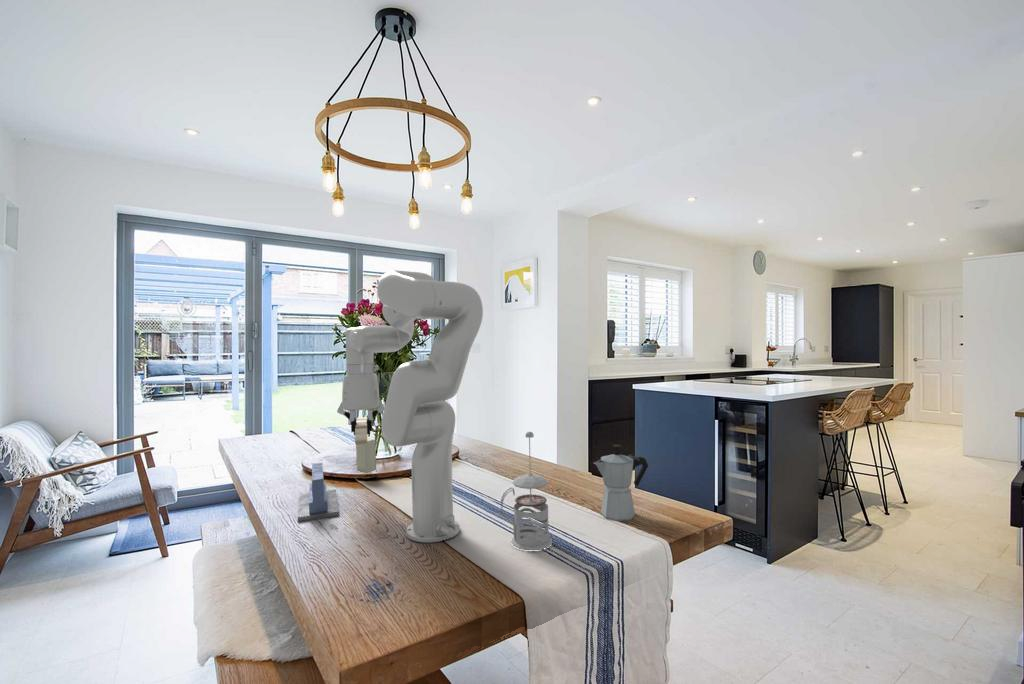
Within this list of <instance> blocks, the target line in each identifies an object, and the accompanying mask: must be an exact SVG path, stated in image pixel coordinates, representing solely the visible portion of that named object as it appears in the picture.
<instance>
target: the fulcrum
mask: <svg viewBox="0 0 1024 684" xmlns="http://www.w3.org/2000/svg"><path fill="white" fill-rule="evenodd" d="M323 467H324V466H323V462H316V463H312V464H311V483H309V492H308V493H301V494H299V496H298V507H297V508H298V509H297V523H300V522H301V521H302V522H306V521H307V522H308V521H313V520H319V519H320V520H321V519H327V518H328V519H329V518H334V517H339V516H340V509H339V502H338V496H337V489H329V490H327V482H326V481H324V468H323Z"/></svg>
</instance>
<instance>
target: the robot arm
mask: <svg viewBox="0 0 1024 684" xmlns="http://www.w3.org/2000/svg"><path fill="white" fill-rule="evenodd" d="M376 291H377V297H378V299H379V301H380V303H381V304H382V308H381V311H382V316H383V319H385V321H386V322H387V323H388V324H389V325H360V326H357V327H356V326H355V327H349V328H347V329H346V331H345V361H346V362H345V363H346V365H345V366H346V369H345V370H346V371H345V372H346V375H343V380H342V391H341V392H342V393H341V395H342V396H341V402H340V405H339V407H338V409H337V411H336V412H337V413H338V414H340V415H342V416H344V417H346V418H347V419H348V420H349V421H350V431H351V433H353V436H355V427H356V421H357V417H356V415H355V413H356V411H365V410H367V435H370V433H371V431H373V419H374V418H376V416H377V415H378V414H379V413H381V412H383V413H382V418H381V434H382V436H383V439H384V441H385V442H386V443H387V444H388V445H390V446H393V447H406V446H410V445H415V444H416V445H415V447H414V450H413V451H412V452H413V453H412V456H411V495H412V496H411V499H412V500H411V503H412V522H411V524H409V525H408V526H407V528H406V530H405V532H406V533H405V534H406V537H407V538H408V539H409V540H411V541H414V542H418V543H431V544H432V543H439V542H443V540H444V541H447V540H450V539H453V538H454V537H455V536H457V535H458V534H459V532H460V531H461V528H460V527H461V526H460V523H459V522H458V521H457V520H455V519H456V518H455V515H454V509H453V508H454V505H453V504H454V503H453V502H454V501H453V500H454V498H453V496H454V495H453V439H454V435H455V434H454V433H455V428H456V414H455V410H454V408H453V406H452V405H451V404H450V403H449V402H448V400H450V399H453V398H454V397H455V396H456V395H457V393H458V391H459V389H460V386H461V382H462V379H463V376H464V373H465V369H466V367H467V366H466V365H467V363H468V359H469V355H470V353H471V349H472V346H473V344H474V342H475V339H476V337H477V335H478V333H479V331H480V329H481V326H482V323H483V316H484V314H483V313H484V312H483V311H484V308H483V303H482V299H481V297H480V294H479V293H478V291H477V290H476V289H475V288H473V287H472V286H471V285H469V284H466V283H461V282H455V281H445V280H443V281H442V280H436V279H435V278H434V277H433V276H432V275H430V274H428V273H424V272H416V271H407V270H406V271H405V270H397V269H394V270H389V271H387V272H386V273H383V275H382V276H381V277H380V279H379V281H378V284H377V289H376ZM416 320H448V321H447V323H446V324H444V326H443V327H442V328H441V329H440V331H439V332H438V333H437V334H436V336H435V338H434V340H433V341H432V345H431V349H430V352H429V355H428V357H427V358H426V359H424V360H413V361H412V360H411V361H407V362H404V363H402V364H400V365H399V366H398V367H397V368H396V369H395V371H394V372H393V373H392V377H391V380H390V384H389V388H388V392H387V395H386V400H385V405H384V404H383V403H382V401H381V399H380V389H379V388H380V387H379V380H378V375H377V374H376V373H375V372H376V371H379V370H380V366H379V365H375V364H374V361H375V360H374V354H377V353H379V354H380V353H394V352H397V351H400V350H402V348H404V347H405V346H406V345H408V344H409V342H411V340H412V338H413V336H414V333H415V322H414V321H416ZM456 534H457V535H456ZM449 538H450V539H449ZM446 539H447V540H446Z"/></svg>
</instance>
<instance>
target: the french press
mask: <svg viewBox="0 0 1024 684" xmlns="http://www.w3.org/2000/svg"><path fill="white" fill-rule="evenodd" d="M525 438H528V443H529V445H528V449H529V452H528V453H529V459H531V438H534V433H533V432H532V431H527V432H525ZM531 466H532V465H531V463H529V473H526V474H522V475H519V476H517V477H516V478H514V479H513V480H512V485H514V486H515V487H516V488H519V489H526V490H527V489H528V490H529V493H528V494H522V495H521V494H520V495H518V496H517V497H515V498H514V502H515V504H514V505H513V518H514V519H513V518H511V517H510V516H508V515H507V514H506V513H505V511H504V506H503V503H504V499H505V498H506V497H507V496H508V494H509V493H511V492H512V495H513V496H515V489H514V487H509V488H508V489H506V490H505V491H504V492H503V495H502V496H501V500H500V508H501V512H502V513H501V514H502V515H503V517H504V518H505V519H506V520H507V521H509V522H510V523H512V525H513V537H512V538H511V539H512V541H511V540H510V542H511V543H512V544H513V546H515V547H517V548H519V549H523V550H540V549H544V548H546V547H549V546H550V545H551V544H552V540H553V539H552V538H551V537H550V535H549V533H550V532H549V505H548V504H547V501H548V499H547V498H546V497H545V496H544V495H540V494H534V493H533V494H532V490H533V489H540V488H541V489H542V488H545V487H546V486H548V484H549V480H548V479H546V478H545V477H544V476H542V475H539V474H535V473H531V470H532V469H531ZM522 507H524V508H522ZM520 508H521V509H520ZM532 508H534V509H535V510H537V511H535V510H533V509H532ZM523 518H524V519H523ZM521 519H522V520H521ZM532 519H533V520H532ZM534 520H535V521H534ZM533 525H534V526H533ZM536 526H537V527H536ZM540 528H541V529H540Z"/></svg>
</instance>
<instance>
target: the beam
mask: <svg viewBox="0 0 1024 684" xmlns="http://www.w3.org/2000/svg"><path fill="white" fill-rule="evenodd" d="M367 417H368V416H367ZM367 417H366V416H364V417H356V427H355V435H354V442H355V446H356V445H359V444H367V439H368V434H367Z"/></svg>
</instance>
